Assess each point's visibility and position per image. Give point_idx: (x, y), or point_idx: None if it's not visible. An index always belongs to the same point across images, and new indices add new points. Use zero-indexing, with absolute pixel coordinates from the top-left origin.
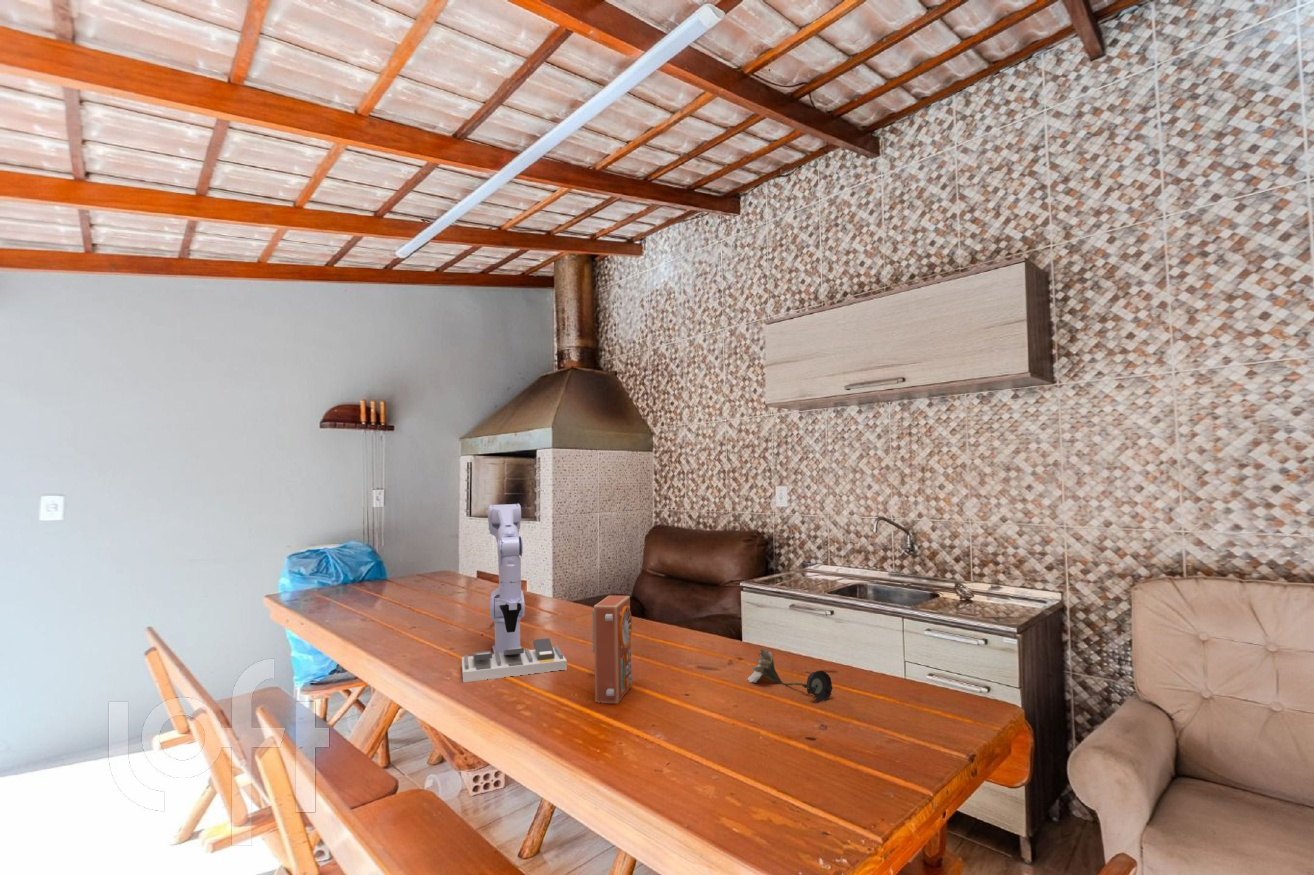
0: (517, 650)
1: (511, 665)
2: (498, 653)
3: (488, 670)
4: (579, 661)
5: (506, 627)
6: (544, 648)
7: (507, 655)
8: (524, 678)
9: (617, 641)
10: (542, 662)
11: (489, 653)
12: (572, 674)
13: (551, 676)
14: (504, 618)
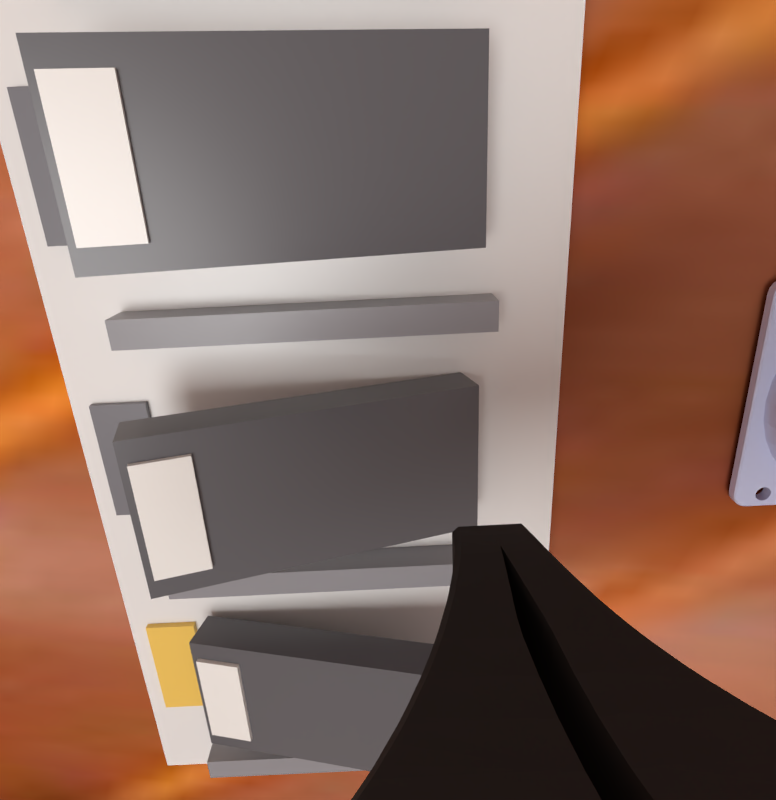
0: (141, 536)
1: (94, 427)
2: (424, 332)
3: (30, 219)
4: (352, 775)
5: (455, 566)
6: (301, 711)
7: None
8: (59, 475)
9: None
10: (151, 636)
11: (77, 246)
12: (98, 724)
13: (77, 626)
14: (431, 669)
